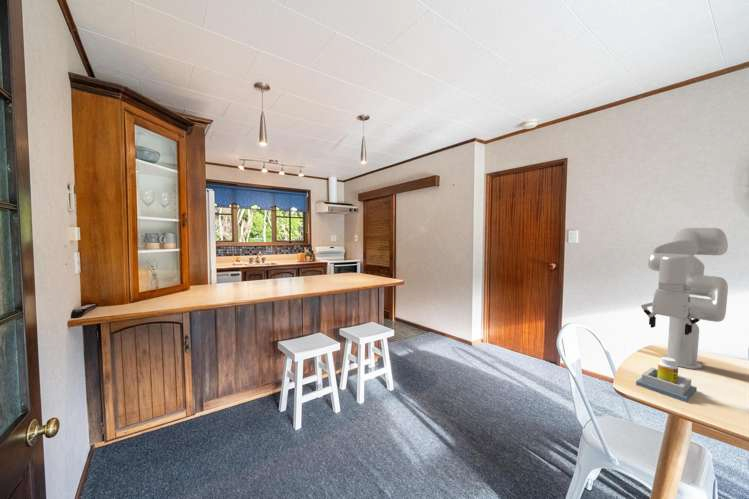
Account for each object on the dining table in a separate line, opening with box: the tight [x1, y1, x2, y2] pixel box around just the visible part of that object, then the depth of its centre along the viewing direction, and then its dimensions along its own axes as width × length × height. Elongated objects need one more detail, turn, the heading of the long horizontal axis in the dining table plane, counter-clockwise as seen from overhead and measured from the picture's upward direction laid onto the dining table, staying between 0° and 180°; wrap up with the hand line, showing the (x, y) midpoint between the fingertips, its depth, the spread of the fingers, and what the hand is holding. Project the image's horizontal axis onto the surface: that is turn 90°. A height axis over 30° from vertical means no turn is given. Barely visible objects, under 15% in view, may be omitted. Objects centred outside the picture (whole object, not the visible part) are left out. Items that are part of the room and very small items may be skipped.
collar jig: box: [635, 367, 698, 403], centre depth 114 cm, size 14×14×4 cm
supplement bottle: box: [657, 356, 679, 384], centre depth 114 cm, size 6×6×10 cm
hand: (669, 330), depth 114 cm, fingers open, 9 cm apart
